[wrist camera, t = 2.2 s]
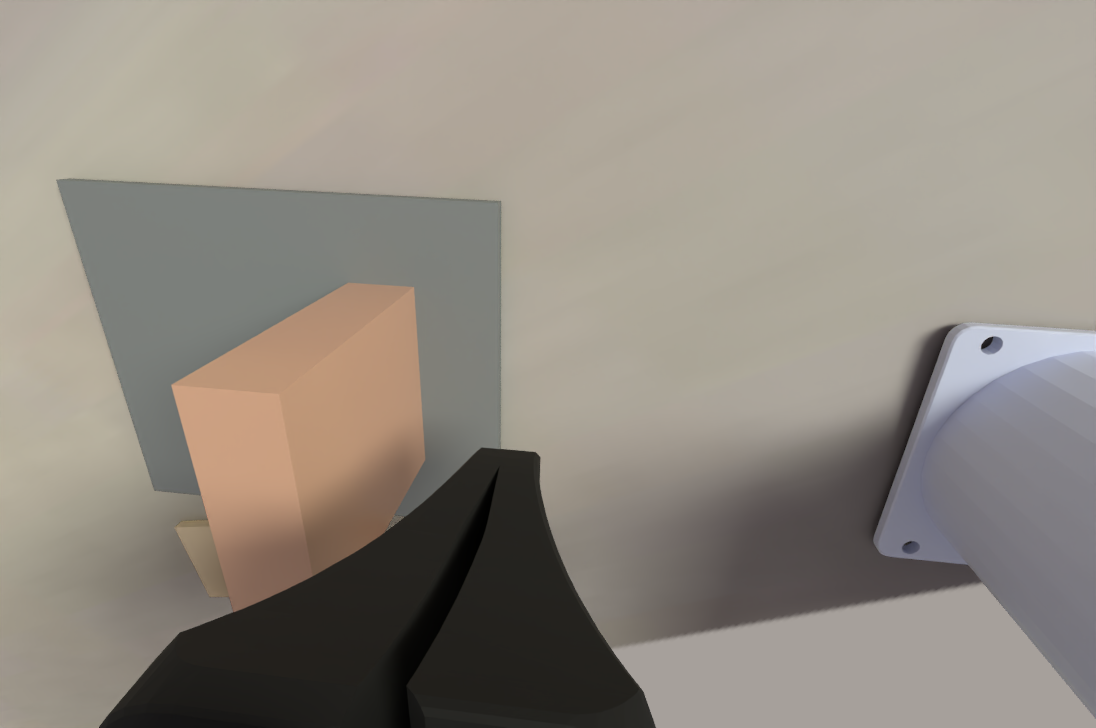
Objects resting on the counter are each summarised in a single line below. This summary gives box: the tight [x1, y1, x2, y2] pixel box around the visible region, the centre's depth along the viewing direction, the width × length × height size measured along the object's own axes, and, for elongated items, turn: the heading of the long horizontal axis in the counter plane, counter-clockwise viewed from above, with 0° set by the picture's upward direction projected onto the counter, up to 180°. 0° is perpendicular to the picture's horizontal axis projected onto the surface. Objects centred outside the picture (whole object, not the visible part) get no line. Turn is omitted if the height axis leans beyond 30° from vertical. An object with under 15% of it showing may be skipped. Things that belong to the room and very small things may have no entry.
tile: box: [171, 283, 425, 612], centre depth 14 cm, size 2×6×7 cm, turn 178°
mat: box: [56, 179, 501, 516], centre depth 17 cm, size 13×11×1 cm
